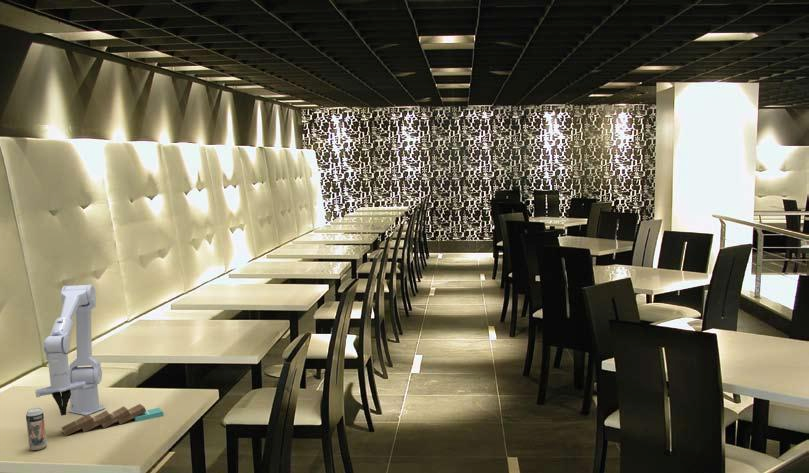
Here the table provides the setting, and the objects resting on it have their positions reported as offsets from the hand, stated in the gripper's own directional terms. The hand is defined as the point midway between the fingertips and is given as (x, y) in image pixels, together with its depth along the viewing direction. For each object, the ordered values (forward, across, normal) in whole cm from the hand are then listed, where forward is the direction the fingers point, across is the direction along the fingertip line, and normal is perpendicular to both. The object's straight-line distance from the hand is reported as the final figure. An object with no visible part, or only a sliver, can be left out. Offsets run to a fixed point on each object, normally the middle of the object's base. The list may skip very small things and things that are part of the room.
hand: (63, 414), depth 249 cm
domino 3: (+6, +11, 0) cm, 12 cm away
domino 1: (+6, 0, 0) cm, 6 cm away
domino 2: (+6, +5, 0) cm, 8 cm away
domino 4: (+6, +16, 0) cm, 17 cm away
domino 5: (+6, +21, 0) cm, 22 cm away
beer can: (+7, -9, -8) cm, 14 cm away
